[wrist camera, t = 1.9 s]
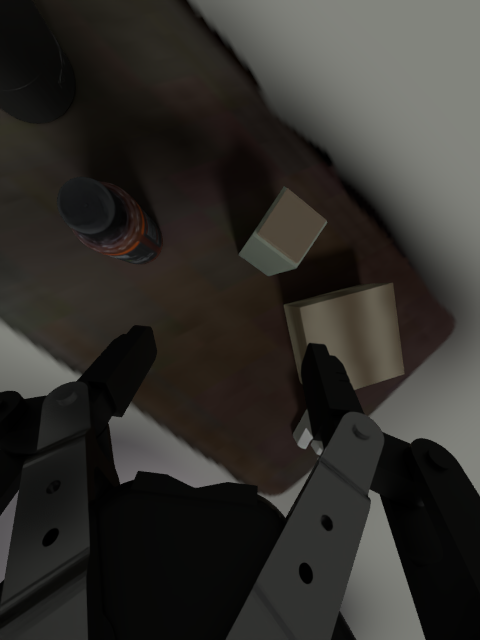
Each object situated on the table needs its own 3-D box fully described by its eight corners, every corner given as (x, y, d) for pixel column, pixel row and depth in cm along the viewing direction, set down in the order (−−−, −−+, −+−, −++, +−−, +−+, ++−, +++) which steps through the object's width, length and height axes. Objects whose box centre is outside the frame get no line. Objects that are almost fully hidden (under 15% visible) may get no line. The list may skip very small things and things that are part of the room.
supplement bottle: (142, 206, 26) (90, 142, 15) (173, 246, 27) (147, 215, 16) (103, 234, 26) (21, 192, 15) (136, 274, 27) (83, 263, 16)
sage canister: (268, 276, 29) (298, 267, 19) (238, 254, 28) (253, 233, 18) (288, 245, 29) (331, 219, 19) (259, 223, 28) (286, 182, 18)
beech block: (299, 380, 32) (318, 400, 26) (282, 304, 30) (299, 307, 24) (370, 359, 33) (404, 374, 27) (358, 284, 31) (392, 282, 26)
